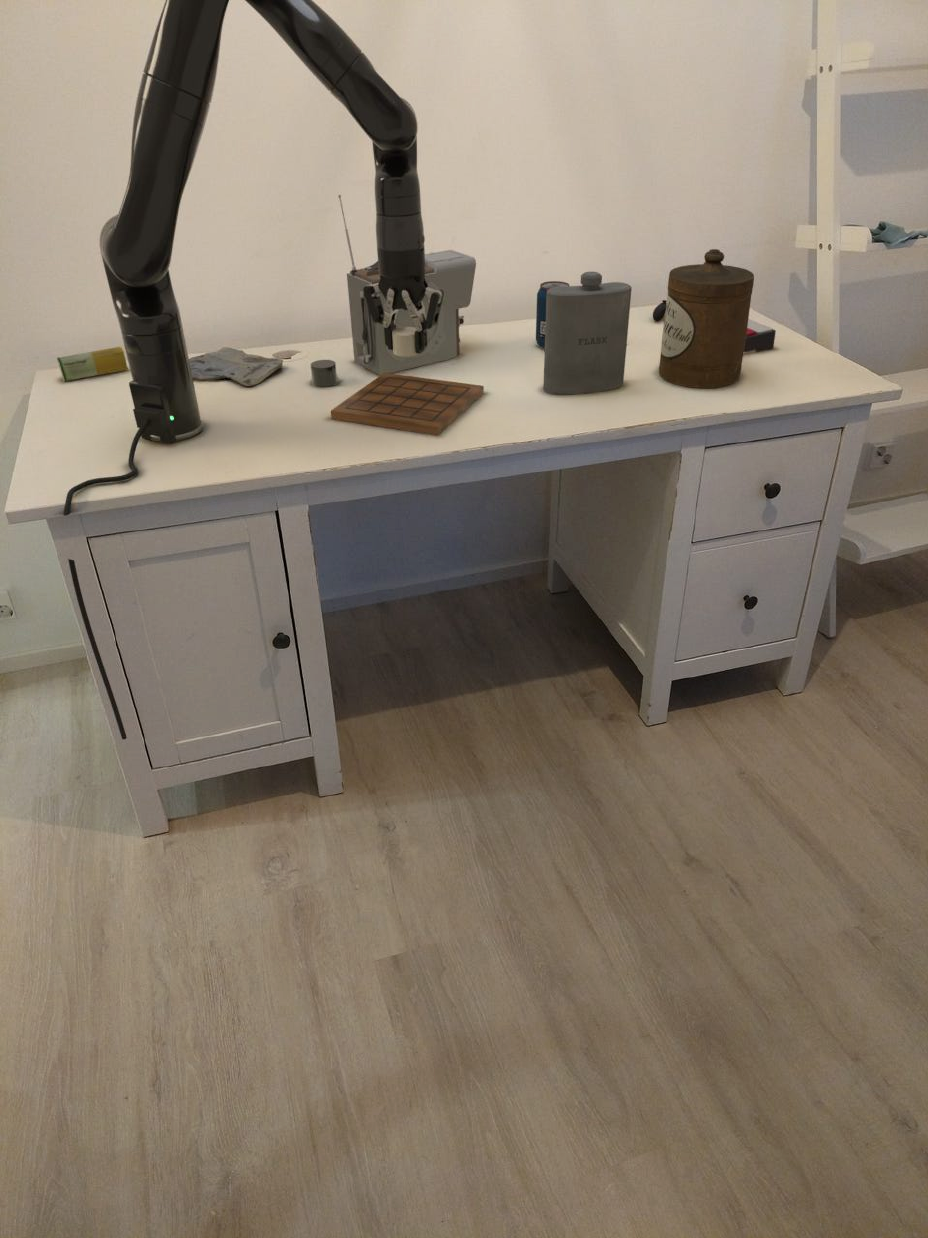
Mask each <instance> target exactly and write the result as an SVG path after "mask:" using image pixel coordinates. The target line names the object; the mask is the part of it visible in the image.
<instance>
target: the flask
mask: <svg viewBox="0 0 928 1238" xmlns="http://www.w3.org/2000/svg"><path fill="white" fill-rule="evenodd" d="M602 282H603V275H602V274H601V273H600V272H598V271H585V272H582V274H581V275H580V284H581V285H569V286H559V287H553V288H550V289H548V290H547V297H546V326H545V349H544V359H543V384H542V386H543V390H544V391H545V392H546V393H547V394H551V395H559V396H560V395H561V396H562V395H563V396H564V395H567V396H568V395H583V394H593V393H601V392H608V391H612V390H616V389H620V388H621V387H622V386H623V385H624V379H625V370H626V369H625V367H626V357H627V356H626V355H627V346H628V334H629V332H628V331H629V324H630V323H629V322H630V310H631V300H632V287H633V286H632V285H630V284H628V283H626V282H622V281H621V282H620V281H609V282H603V283H602Z"/></svg>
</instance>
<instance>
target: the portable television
mask: <svg viewBox="0 0 928 1238" xmlns="http://www.w3.org/2000/svg"><path fill="white" fill-rule="evenodd" d="M337 197H338V199H339V203H340V209H341V213H342V218H343V225H344V231H345V237H346V241H347V246H348V247H347V248H348V251H349V256H350V262H351V265H352V266H351V270H350V272H349V273H348V272H347V273H346V281H347V292H348V302H349V304H348V305H349V317H350V326H351V337H352V338H351V339H352V349H353V360H354V363H357V364H358V365H360V366H361V367H363V368H365V369H367V370H369V371H371V372H373V373H374V374H376V375H377V376H381V375H382V374H383V373H391V374H395V373H397V372H401V371H406V370H410V369H414V368H418V367H422V366H426V365H431V364H435V363H438V362H442V361H447V360H452V359H455V358H456V357H458V356H460V343H461V338H460V326H461V325H464V324H465V323H464V322H465V321H464V318H465V315H459V314H460V313H459V312H460V311H459V310H461V309H464V308H468V307H469V306H470V304H471V301H472V293H473V287H474V281H475V274H476V268H477V262H476V258H475V257H474V256H471V255H468V254H465V253H462V252H459V251H455V250H452V249H447V250H441V251H437V252H430V253H425V280H426V282H427V284H428V287H430V288H432V289H435V290H439V289H441V290H443V292H444V296H443V301H442V305H441V310H440V315H439V319H438V323H437V324H436V325H434V326H433V327H432V328H430V329H427V343H428V345H427V348H426V349H425V350H424V351H423V352H422V353H419V354H418V355H415V356H410V357H401V356H397V355H394V353H393V350H389V349H388V346H386V344H385V334H384V327H383V325H382V324H380V323H375V322H374V321H373V319H372V316H371V313H370V310H369V306H368V303H367V300H366V297H365V294H364V290H363V289H364V287H365V286H367V285H369V284H371V283H375V284H377V283H378V282H379V280H380V274H379V268H378V260H377V261H376V262H374V263H373V264H371V265H369V266H366V267H364V268H363V267H362V268H358V269H357V268H356V265H355V261H354V257H353V251H352V246H351V241H350V235H349V230H348V228H347V223H346V217H345V214H344V213H345V212H344V208H343V203H342V199H341V198H342V194H339V193H338V195H337ZM380 292H381V291H380ZM380 299H381V302H382V305H383V309H384V308H385V304H386V299H385V297H384V296H383V294H382V293H381V294H380ZM422 301H423V304H424V307H425V315H426V318H427V313H428V308H429V302H428V301H427V295H425V296H424V298H423V299H422ZM394 325H396V328H400V327H414V328H415V325H414V322H413V319H412V318H411V317H410V315H409V312H408V311H407V310H404V309H399V311H398V312H397V316H396V320H395V323H394Z"/></svg>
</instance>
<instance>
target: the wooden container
mask: <svg viewBox="0 0 928 1238" xmlns="http://www.w3.org/2000/svg"><path fill="white" fill-rule="evenodd" d="M703 258H704V262H703V263H701V264H698V263H697V264H686V265H681V266H678V267H674V268H672V269H671V270H670V271H669V274H668V280H667V281H668V282H667V295H666V301H667V303H666V311H665V314H664V320H663V326H662V327H663V328H662V333H661V334H662V335H661V345H660V356H659V357H660V358H659V366H658V373H659V376H660V377H661V378H662V379H664V381H667V382H669V383H672V384H675V385H678V386H682V387H688V388H695V389H712V388H722V387H726V386H730V385H732V384H734V383H736V382H738V381H739V379H740V377H741V373H742V365H743V360H744V359H743V358H744V354H745V353H744V348H745V342H746V334H747V326H748V319H750V318H749V317H750V310H751V302H752V294H753V289H754V281H755V274H754V272H753V271H750V270H749V269H746V268H744V267H738V266H733V265H727V264H723V263H722V262H723V261H724V259H725V254H724V253H723V252H722V251H721V250H720V249H717V248H712V249H709V250H708V251H706V252H705V253H704V257H703Z"/></svg>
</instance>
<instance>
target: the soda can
mask: <svg viewBox="0 0 928 1238" xmlns="http://www.w3.org/2000/svg"><path fill="white" fill-rule="evenodd" d="M559 286H570V283H568V282H565V281H559V280H550V281H549V280H548V281H544V282H542V283H540V284H539V289H538V290H537V293H536V313H535V314H536V315H535V316H536V319H535V342H536V343H537V345H538V347H539V348H540V349H543V350H545V326H546V297H547V290H548V289H550V288H553V287H559Z"/></svg>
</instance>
